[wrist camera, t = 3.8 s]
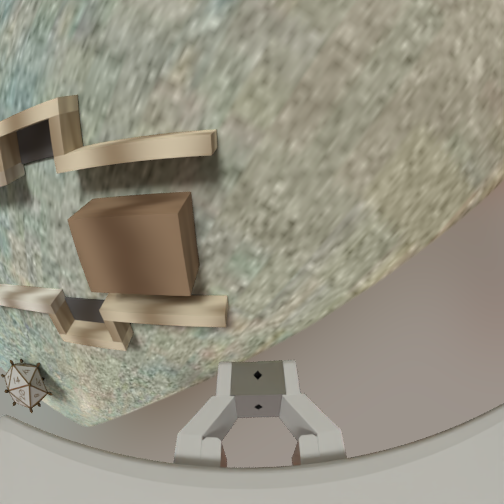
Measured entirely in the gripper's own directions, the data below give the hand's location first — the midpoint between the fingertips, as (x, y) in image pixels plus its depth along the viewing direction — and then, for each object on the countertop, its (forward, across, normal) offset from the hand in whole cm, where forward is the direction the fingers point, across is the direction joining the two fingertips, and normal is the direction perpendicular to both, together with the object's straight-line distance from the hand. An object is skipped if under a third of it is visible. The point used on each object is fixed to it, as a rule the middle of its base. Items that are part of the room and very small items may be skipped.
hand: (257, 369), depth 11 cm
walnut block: (+12, +8, 0) cm, 15 cm away
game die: (+13, +35, +22) cm, 44 cm away
